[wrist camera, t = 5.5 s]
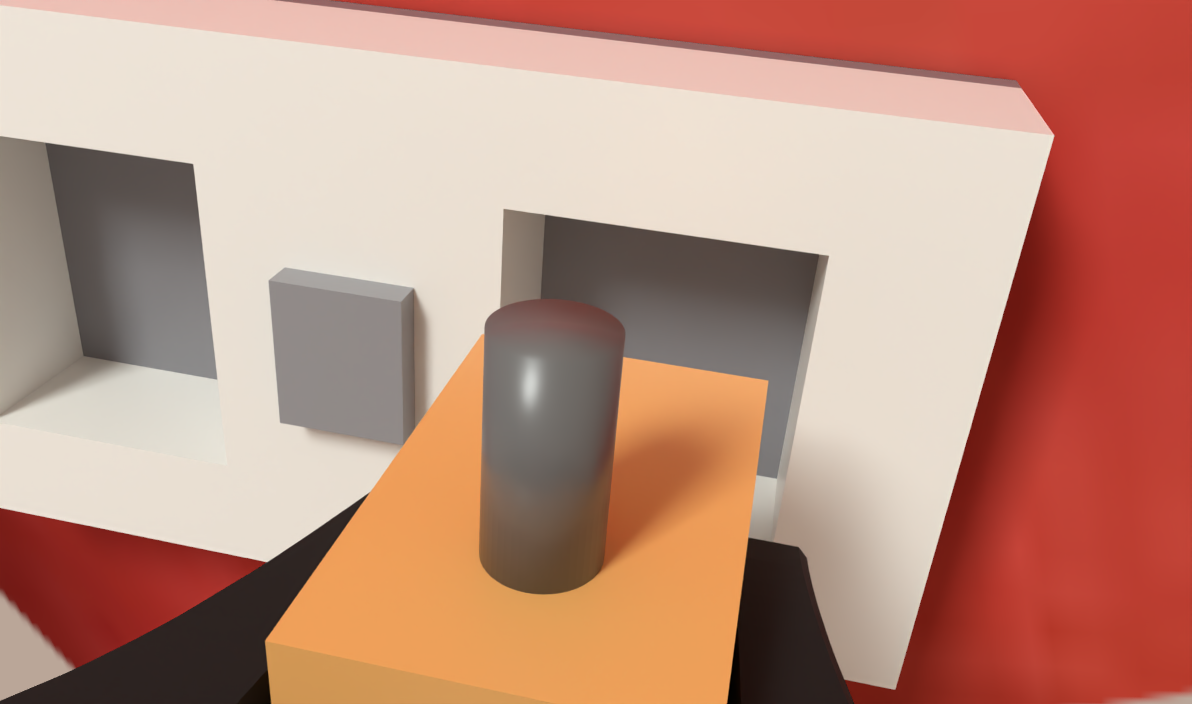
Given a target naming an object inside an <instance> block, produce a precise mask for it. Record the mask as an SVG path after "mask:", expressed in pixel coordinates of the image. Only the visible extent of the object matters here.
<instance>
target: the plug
mask: <svg viewBox="0 0 1192 704" xmlns="http://www.w3.org/2000/svg"><path fill="white" fill-rule="evenodd" d="M624 346H625V329H624V327H623V325H622V323H621V322H620V321H619V320H618V319H617V318H615V317H614V316H613V315H611V314H610V313H608V312H606V311H604V310H602V309H600V308H597V307H595V306H591V305H588V304H585V303H581V302H575V301H569V300H561V299H534V300H526V301H520V302H516V303H512V304H509V305H506V306H504V307H502V308H500V309H498V310H496V311H495V312H493V313H492V314H491V315H490V316H489V317H488V318H487V320H486V322H485V326H484V334H482V335H481V336H480V338H479V339H478V340H477V342H476V343H475V345H474V346H473V348H472V349H471V350H470V352H469V353H468V355H467V356H466V357H465V359H464V360H463V362H462V363H461V364H460V366H459V367H458V369H457V370H456V372H455V373H454V374H453V376H452V377H451V379H450V380H449V381H448V383H447V384H446V386H445V387H444V389H443V390H442V391H441V393H440V394H439V396H438V397H437V398H436V400H435V401H434V403H433V404H432V406H431V407H430V408H429V410H428V411H427V413H426V414H425V415H424V417H423V418H422V420H421V421H420V422H419V424H418V425H417V427H416V428H415V430H414V431H413V432H412V434H411V435H410V437H409V438H408V439H407V441H406V442H405V444H404V445H403V447H402V448H401V449H400V451H399V452H398V454H397V455H396V456H395V458H394V459H393V461H392V462H391V463H390V465H389V466H388V468H387V469H386V471H385V472H384V473H383V475H382V476H381V478H380V479H379V480H378V482H377V483H376V485H375V486H374V488H373V489H372V490H371V492H370V493H369V495H368V496H367V497H366V499H365V500H364V502H363V503H362V505H361V506H360V507H359V509H358V510H357V512H356V513H355V514H354V516H353V517H352V519H351V520H350V521H349V523H348V524H347V526H346V527H345V529H344V530H343V531H342V533H341V534H340V536H339V537H338V538H337V540H336V541H335V543H334V544H333V546H332V547H331V548H330V550H329V551H328V553H327V554H326V555H325V557H324V558H323V560H322V561H321V563H320V564H319V565H318V567H317V568H316V570H315V571H314V572H313V574H312V575H311V577H310V578H309V579H308V581H307V582H306V584H305V585H304V587H303V588H302V589H301V591H300V592H299V594H298V595H297V596H296V598H295V599H294V601H293V602H292V604H291V605H290V606H289V608H288V609H287V611H286V612H285V613H284V615H283V616H282V618H281V619H280V621H279V622H278V623H277V625H276V626H275V628H274V629H273V630H272V632H271V633H270V635H269V636H268V637H267V639H266V640H265V646H266V655H267V665H268V675H269V685H270V695H271V704H727V699H728V691H729V683H730V675H731V668H732V660H733V652H734V644H735V637H736V629H737V621H738V613H739V606H740V598H741V590H742V582H743V575H744V567H745V559H746V551H747V544H748V536H749V528H750V520H751V513H752V505H753V497H754V489H755V482H756V474H757V466H758V458H759V451H760V443H761V435H762V427H763V420H764V412H765V404H766V396H767V389H768V380H762V379H755V378H749V377H743V376H737V375H731V374H725V373H718V372H712V371H706V370H700V369H694V368H688V367H682V366H675V365H669V364H663V363H657V362H651V361H645V360H638V359H632V358H626V357H623V356H624Z"/></svg>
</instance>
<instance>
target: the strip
mask: <svg viewBox="0 0 1192 704" xmlns="http://www.w3.org/2000/svg"><path fill="white" fill-rule="evenodd" d="M1053 138H1054V134H1053V133H1052V132H1051V130H1050V129H1049V127H1048V126H1047V124H1046V123H1045V121H1044V120H1043V119H1042V117H1041V116H1040V114H1039V113H1038V111H1037V110H1036V109H1035V107H1034V106H1033V104H1032V103H1031V101H1030V100H1029V98H1028V97H1027V96H1026V94H1025V93H1024V91H1023V90H1022V88H1021V87H1020V85H1019V84H1018V83H1017V81H1015V80H1007V79H998V78H990V77H981V76H972V75H964V74H955V73H947V72H938V71H930V70H921V69H913V68H904V67H895V66H887V65H878V64H870V63H861V62H853V61H844V60H836V59H827V58H818V57H810V56H801V55H793V54H784V53H776V52H767V51H759V50H750V49H741V48H733V47H724V46H716V45H707V44H699V43H690V42H682V41H673V40H664V39H656V38H647V37H639V36H630V35H622V34H613V33H605V32H596V31H587V30H579V29H570V28H562V27H553V26H545V25H536V24H527V23H519V22H510V21H502V20H493V19H485V18H476V17H468V16H459V15H450V14H442V13H433V12H425V11H416V10H408V9H399V8H391V7H382V6H373V5H365V4H356V3H348V2H339V1H331V0H0V508H4V509H9V510H14V511H19V512H23V513H28V514H33V515H38V516H43V517H48V518H53V519H58V520H63V521H68V522H73V523H78V524H82V525H87V526H92V527H97V528H102V529H107V530H112V531H117V532H122V533H127V534H132V535H137V536H141V537H146V538H151V539H156V540H161V541H166V542H171V543H176V544H181V545H186V546H191V547H196V548H200V549H205V550H210V551H215V552H220V553H225V554H230V555H235V556H240V557H245V558H250V559H255V560H259V561H264V562H268V561H270V560H271V559H273V558H274V557H276V556H277V555H279V554H280V553H282V552H283V551H285V550H286V549H288V548H289V547H291V546H292V545H294V544H295V543H297V542H298V541H300V540H301V539H303V538H304V537H306V536H307V535H309V534H310V533H312V532H313V531H315V530H316V529H317V528H319V527H320V526H322V525H323V524H325V523H326V522H328V521H329V520H330V519H332V518H333V517H335V516H336V515H338V514H339V513H341V512H342V511H343V510H345V509H346V508H348V507H349V506H351V505H352V504H353V503H355V502H356V501H358V500H359V499H361V498H362V497H364V496H365V495H366V494H368V493H369V492H371V490H372V489H373V488H374V486H375V485H376V483H377V482H378V480H379V479H380V478H381V476H382V475H383V473H384V472H385V471H386V469H387V468H388V466H389V465H390V463H391V462H392V461H393V459H394V458H395V456H396V455H397V454H398V452H399V451H400V449H401V448H402V447H403V445H404V444H405V442H406V441H407V439H408V438H409V437H410V435H411V434H412V432H413V431H414V430H415V428H416V427H417V425H418V424H419V422H420V421H421V420H422V418H423V417H424V415H425V414H426V413H427V411H428V410H429V408H430V407H431V406H432V404H433V403H434V401H435V400H436V398H437V397H438V396H439V394H440V393H441V391H442V390H443V389H444V387H445V386H446V384H447V383H448V381H449V380H450V379H451V377H452V376H453V374H454V373H455V372H456V370H457V369H458V367H459V366H460V364H461V363H462V362H463V360H464V359H465V357H466V356H467V355H468V353H469V352H470V350H471V349H472V348H473V346H474V345H475V343H476V342H477V340H478V339H479V338H480V336H481V335H482V334H484V326H485V322H486V320H487V318H488V317H489V316H490V315H491V314H492V313H493V312H495V311H496V310H498V309H500V308H502V307H504V306H506V305H509V304H512V303H516V302H520V301H526V300H534V299H561V300H569V301H575V302H581V303H585V304H588V305H591V306H595V307H597V308H600V309H602V310H604V311H606V312H608V313H610V314H611V315H613V316H614V317H615V318H617V319H618V320H619V321H620V322H621V323H622V325H623V327H624V329H625V346H624V356H623V357H626V358H632V359H638V360H645V361H651V362H657V363H663V364H669V365H675V366H682V367H688V368H694V369H700V370H706V371H712V372H718V373H725V374H731V375H737V376H743V377H749V378H755V379H762V380H768V389H767V396H766V404H765V412H764V420H763V427H762V435H761V443H760V451H759V458H758V466H757V474H756V482H755V489H754V497H753V505H752V513H751V520H750V528H749V536H748V537H749V538H754V539H759V540H765V541H770V542H775V543H781V544H786V545H791V546H797V547H799V548H800V549H801V551H802V552H803V553H804V555H805V556H806V557H807V561H808V567H809V572H810V577H811V581H812V585H813V589H814V593H815V597H816V600H817V604H818V607H819V610H820V614H821V617H822V620H823V623H824V626H825V629H826V632H827V635H828V638H829V641H830V644H831V646H832V649H833V652H834V655H835V657H836V660H837V663H838V665H839V668H840V670H841V672H842V675H843V677H844V680H849V681H854V682H859V683H864V684H869V685H874V686H879V687H884V688H889V689H894V690H895V689H896V686H897V682H898V679H899V675H900V672H901V668H902V665H903V661H904V658H905V654H906V651H907V647H908V644H909V640H910V637H911V633H912V630H913V626H914V623H915V619H916V616H917V612H918V609H919V605H920V602H921V598H922V595H923V591H924V588H925V584H926V581H927V578H928V574H929V571H930V567H931V564H932V560H933V557H934V553H935V550H936V546H937V543H938V539H939V536H940V532H941V529H942V525H943V522H944V518H945V515H946V511H947V508H948V504H949V501H950V497H951V494H952V490H953V487H954V483H955V480H956V476H957V473H958V469H959V466H960V463H961V459H962V456H963V452H964V449H965V445H966V442H967V438H968V435H969V431H970V428H971V424H972V421H973V417H974V414H975V410H976V407H977V403H978V400H979V396H980V393H981V389H982V386H983V382H984V379H985V375H986V372H987V368H988V365H989V361H990V358H991V354H992V351H993V348H994V344H995V341H996V337H997V334H998V330H999V327H1000V323H1001V320H1002V316H1003V313H1004V309H1005V306H1006V302H1007V299H1008V295H1009V292H1010V288H1011V285H1012V281H1013V278H1014V274H1015V271H1016V267H1017V264H1018V260H1019V257H1020V253H1021V250H1022V246H1023V243H1024V239H1025V236H1026V233H1027V229H1028V226H1029V222H1030V219H1031V215H1032V212H1033V208H1034V205H1035V201H1036V198H1037V194H1038V191H1039V187H1040V184H1041V180H1042V177H1043V173H1044V170H1045V166H1046V163H1047V159H1048V156H1049V152H1050V149H1051V145H1052V142H1053Z"/></svg>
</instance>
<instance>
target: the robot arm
mask: <svg viewBox="0 0 1192 704" xmlns="http://www.w3.org/2000/svg"><path fill="white" fill-rule="evenodd" d="M369 493H370V492H369ZM369 493H368V494H366V495H365V496H364V497H362V498H361V499H359V500H358V501H356V502H355V503H353V504H352V505H351V506H349V507H348V508H346V509H345V510H343V511H342V512H341V513H339V514H338V515H336V516H335V517H333V518H332V519H330V520H329V521H328V522H326V523H325V524H323V525H322V526H320V527H319V528H317V529H316V530H315V531H313V532H312V533H310V534H309V535H307V536H306V537H304V538H303V539H301V540H300V541H298V542H297V543H295V544H294V545H292V546H291V547H289V548H288V549H286V550H285V551H283V552H282V553H280V554H279V555H277V556H276V557H274V558H273V559H271V560H270V561H268V562H267V563H265V564H264V565H262V566H261V567H259V568H258V569H256V570H254V571H253V572H251V573H250V574H248V575H246V576H245V577H243V578H241V579H240V580H238V581H236V582H235V583H233V584H231V585H230V586H228V587H226V588H225V589H223V590H221V591H220V592H218V593H216V594H215V595H213V596H211V597H210V598H208V599H206V600H205V601H203V602H201V603H200V604H198V605H196V606H195V607H193V608H191V609H190V610H188V611H186V612H185V613H183V614H181V615H180V616H178V617H176V618H174V619H172V620H171V621H169V622H167V623H165V624H163V625H161V626H160V627H158V628H156V629H154V630H152V631H150V632H148V633H146V634H144V635H143V636H141V637H139V638H137V639H135V640H133V641H131V642H129V643H127V644H125V645H123V646H121V647H119V648H117V649H115V650H113V651H111V652H109V653H107V654H105V655H103V656H101V657H99V658H97V659H95V660H93V661H91V662H89V663H87V664H84V665H82V666H80V667H78V668H76V669H74V670H72V671H69V672H67V673H65V674H63V675H61V676H58V677H56V678H53V679H51V680H49V681H46V682H44V683H42V684H39V685H37V686H34V687H32V688H30V689H28V690H25V691H23V692H20V693H18V694H15V695H13V696H11V697H8V698H6V699H4V700H1V701H0V704H271V695H270V685H269V675H268V665H267V655H266V646H265V640H266V639H267V637H268V636H269V635H270V633H271V632H272V630H273V629H274V628H275V626H276V625H277V623H278V622H279V621H280V619H281V618H282V616H283V615H284V613H285V612H286V611H287V609H288V608H289V606H290V605H291V604H292V602H293V601H294V599H295V598H296V596H297V595H298V594H299V592H300V591H301V589H302V588H303V587H304V585H305V584H306V582H307V581H308V579H309V578H310V577H311V575H312V574H313V572H314V571H315V570H316V568H317V567H318V565H319V564H320V563H321V561H322V560H323V558H324V557H325V555H326V554H327V553H328V551H329V550H330V548H331V547H332V546H333V544H334V543H335V541H336V540H337V538H338V537H339V536H340V534H341V533H342V531H343V530H344V529H345V527H346V526H347V524H348V523H349V521H350V520H351V519H352V517H353V516H354V514H355V513H356V512H357V510H358V509H359V507H360V506H361V505H362V503H363V502H364V500H365V499H366V497H367V496H368V495H369ZM727 704H854V702H853V700H852V697H851V695H850V692H849V690H848V687H847V685H846V682H845V680H844V677H843V675H842V672H841V670H840V668H839V665H838V663H837V660H836V657H835V655H834V652H833V649H832V646H831V644H830V641H829V638H828V635H827V632H826V629H825V626H824V623H823V620H822V617H821V614H820V610H819V607H818V604H817V600H816V597H815V593H814V589H813V585H812V581H811V577H810V572H809V567H808V561H807V557H806V556H805V555H804V553H803V552H802V551H801V549H800V548H799V547H797V546H791V545H786V544H781V543H775V542H770V541H765V540H759V539H754V538H749V537H748V544H747V551H746V559H745V567H744V575H743V582H742V590H741V598H740V606H739V613H738V621H737V629H736V637H735V644H734V652H733V660H732V668H731V675H730V683H729V691H728V699H727Z"/></svg>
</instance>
